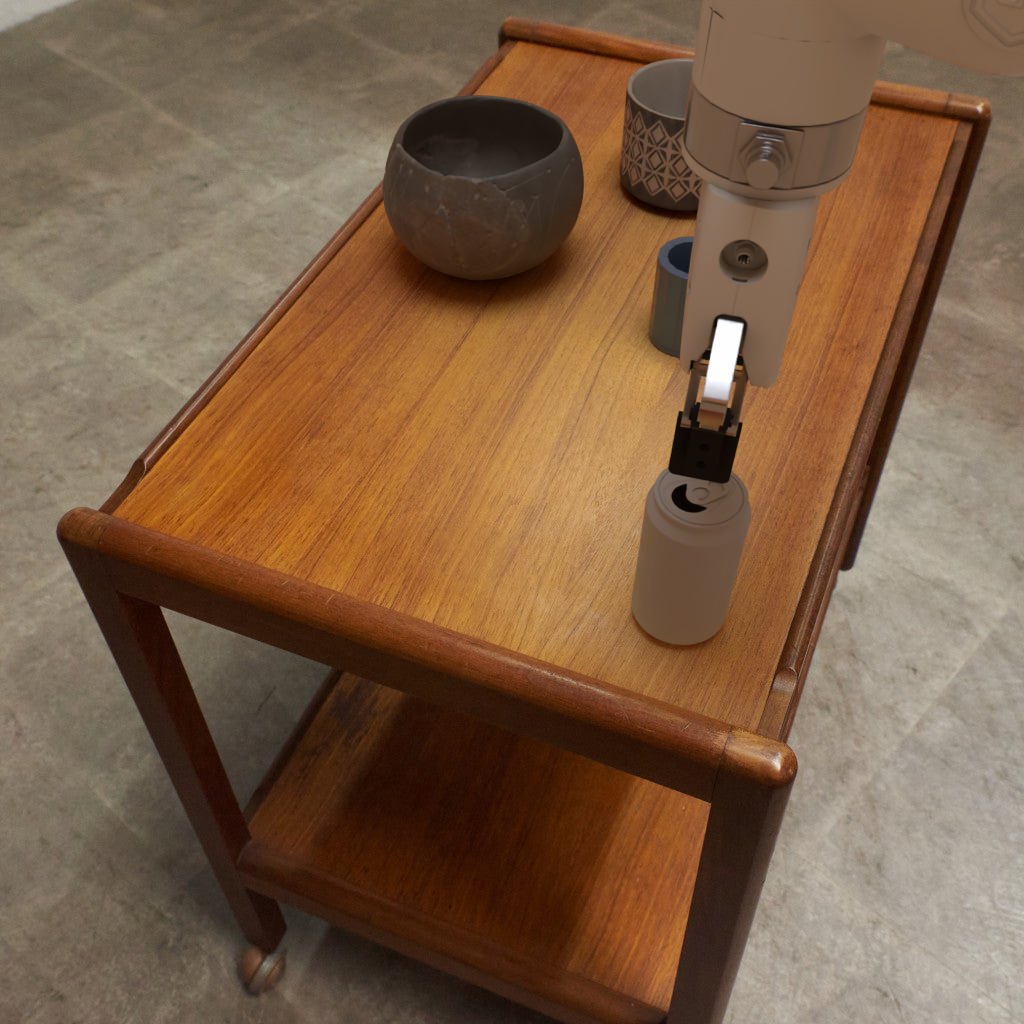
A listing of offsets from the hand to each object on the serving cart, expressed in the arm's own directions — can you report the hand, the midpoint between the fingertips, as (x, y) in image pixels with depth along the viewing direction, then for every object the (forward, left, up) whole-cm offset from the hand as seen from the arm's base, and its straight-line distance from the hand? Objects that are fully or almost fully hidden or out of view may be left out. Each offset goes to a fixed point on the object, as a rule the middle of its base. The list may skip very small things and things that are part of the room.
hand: (710, 414), depth 59 cm
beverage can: (0, 0, -18) cm, 18 cm away
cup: (+4, -30, -18) cm, 35 cm away
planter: (+8, -54, -18) cm, 58 cm away
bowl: (+24, -37, -18) cm, 48 cm away
